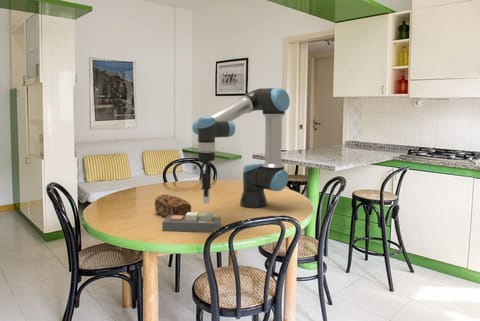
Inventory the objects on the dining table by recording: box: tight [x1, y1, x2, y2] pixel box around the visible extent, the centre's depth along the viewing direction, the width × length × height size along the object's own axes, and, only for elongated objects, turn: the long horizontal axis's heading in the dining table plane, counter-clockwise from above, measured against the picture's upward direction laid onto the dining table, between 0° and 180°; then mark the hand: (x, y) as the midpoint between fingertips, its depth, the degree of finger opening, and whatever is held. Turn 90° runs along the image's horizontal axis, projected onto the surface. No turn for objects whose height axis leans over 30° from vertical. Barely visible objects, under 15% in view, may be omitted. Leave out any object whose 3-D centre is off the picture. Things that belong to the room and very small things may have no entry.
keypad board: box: [161, 215, 222, 233], centre depth 186 cm, size 25×11×4 cm, turn 85°
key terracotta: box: [170, 215, 184, 221], centre depth 186 cm, size 5×5×4 cm
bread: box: [154, 194, 192, 219], centre depth 205 cm, size 19×11×10 cm, turn 43°
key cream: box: [185, 211, 199, 221], centre depth 185 cm, size 5×5×4 cm
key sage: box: [200, 212, 214, 222], centre depth 185 cm, size 5×5×4 cm
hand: (206, 203), depth 184 cm, fingers closed
